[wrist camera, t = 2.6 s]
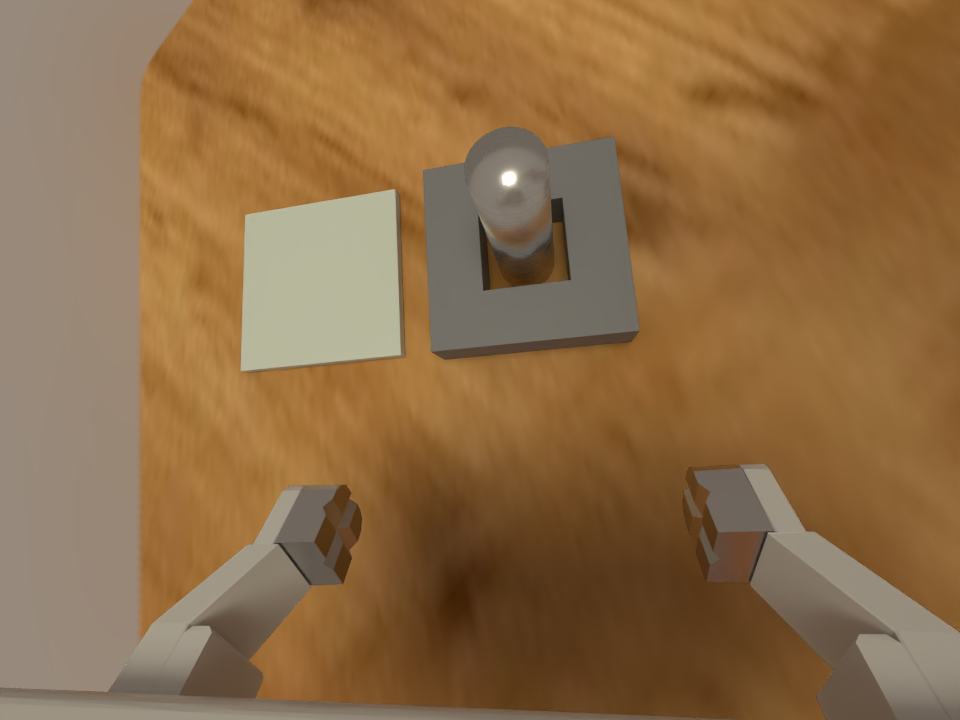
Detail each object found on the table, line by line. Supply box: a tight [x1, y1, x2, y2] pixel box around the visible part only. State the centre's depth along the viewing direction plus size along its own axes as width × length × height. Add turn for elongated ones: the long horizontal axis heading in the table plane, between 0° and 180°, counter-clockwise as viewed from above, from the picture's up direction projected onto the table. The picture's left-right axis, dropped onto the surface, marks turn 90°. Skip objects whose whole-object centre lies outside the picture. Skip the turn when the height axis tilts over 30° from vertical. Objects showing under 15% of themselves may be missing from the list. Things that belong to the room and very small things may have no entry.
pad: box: [241, 189, 405, 373], centre depth 31 cm, size 12×12×1 cm
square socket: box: [423, 137, 640, 359], centre depth 27 cm, size 12×12×3 cm
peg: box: [464, 127, 554, 287], centre depth 24 cm, size 4×4×11 cm
